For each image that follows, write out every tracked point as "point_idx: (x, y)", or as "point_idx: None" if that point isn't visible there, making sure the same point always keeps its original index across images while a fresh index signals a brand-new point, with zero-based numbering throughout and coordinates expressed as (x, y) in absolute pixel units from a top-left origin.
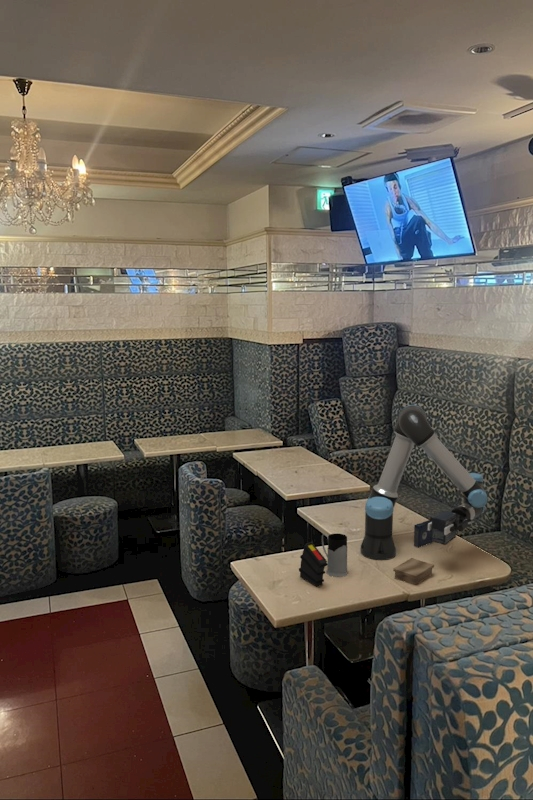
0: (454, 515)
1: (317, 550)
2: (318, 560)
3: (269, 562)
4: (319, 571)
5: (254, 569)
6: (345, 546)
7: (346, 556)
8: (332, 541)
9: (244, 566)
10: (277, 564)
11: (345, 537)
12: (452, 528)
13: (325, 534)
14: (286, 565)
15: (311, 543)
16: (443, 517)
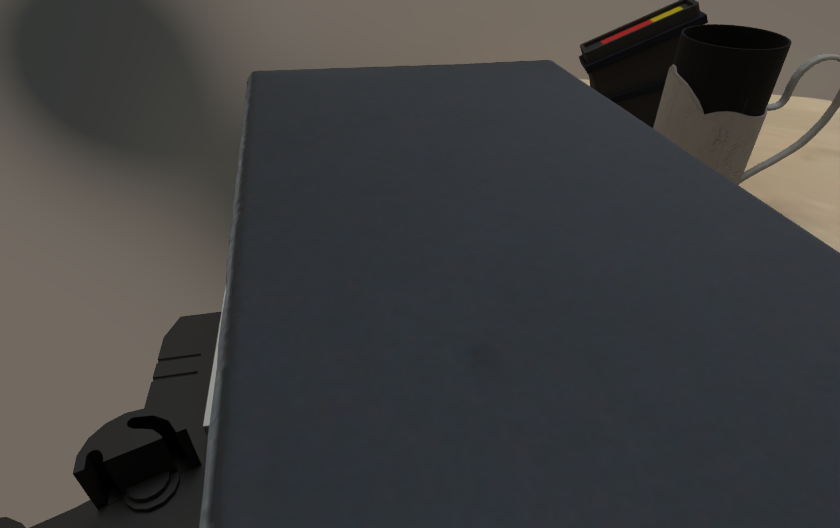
0: (211, 472)
1: (648, 25)
2: (595, 38)
3: (836, 137)
4: (590, 85)
5: (779, 109)
6: (676, 77)
7: (668, 137)
8: (700, 34)
9: (809, 105)
10: (811, 143)
11: (741, 60)
12: (178, 323)
13: (826, 54)
14: (796, 152)
15: (693, 7)
16: (370, 96)
